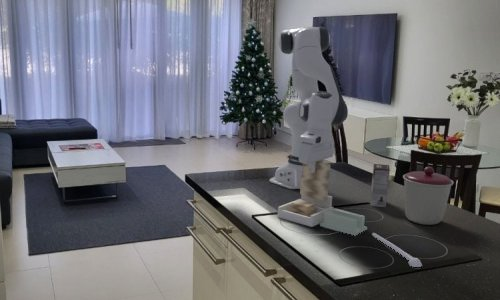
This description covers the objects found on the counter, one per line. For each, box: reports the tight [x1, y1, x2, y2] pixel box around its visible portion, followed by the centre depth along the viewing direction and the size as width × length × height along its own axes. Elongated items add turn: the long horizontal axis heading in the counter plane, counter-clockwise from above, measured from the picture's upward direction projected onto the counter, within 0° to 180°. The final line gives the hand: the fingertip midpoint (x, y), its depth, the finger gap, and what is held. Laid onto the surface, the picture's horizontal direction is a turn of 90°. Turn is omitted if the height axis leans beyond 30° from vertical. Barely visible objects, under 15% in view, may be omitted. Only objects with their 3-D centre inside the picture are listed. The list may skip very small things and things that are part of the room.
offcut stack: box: [292, 199, 315, 217], centre depth 190 cm, size 7×6×6 cm
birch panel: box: [299, 161, 331, 201], centre depth 193 cm, size 11×2×14 cm, turn 52°
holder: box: [319, 208, 368, 237], centre depth 182 cm, size 14×9×5 cm, turn 52°
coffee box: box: [370, 163, 391, 208], centre depth 212 cm, size 9×6×16 cm
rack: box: [277, 195, 335, 228], centre depth 191 cm, size 15×15×8 cm
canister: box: [402, 166, 455, 226], centre depth 192 cm, size 18×18×21 cm
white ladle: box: [371, 232, 423, 268], centre depth 163 cm, size 28×4×3 cm, turn 17°
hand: (315, 171), depth 192 cm, fingers closed on birch panel, 2 cm apart
